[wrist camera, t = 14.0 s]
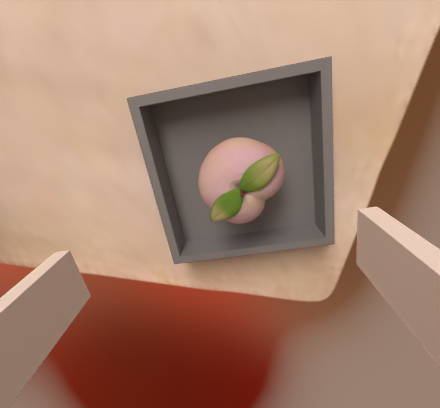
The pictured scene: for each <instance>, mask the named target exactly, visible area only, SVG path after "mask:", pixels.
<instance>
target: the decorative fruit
mask: <svg viewBox="0 0 440 408" xmlns="http://www.w3.org/2000/svg"><path fill="white" fill-rule="evenodd" d="M284 177H285V169H284V165H283V162H282V160H281V158H280V153H277V152H276V151H275V150H274V149H273V148H271V147H270V146H268V145H267V144H265V143H262V142H260V141H257V140H254V139H250V138H244V137H237V138H230V139H227V140H225V141H223V142H221V143H219V144H218V145H217V146H215V147H214V148H213V149H212V150H211V151H210V152H209V153H208V155H207V156H206V158H205V159H204V161H203V163H202V165H201V168H200V172H199V179H198V186H199V192H200V195H201V197H202V199H203V201H204V202H205V204H206V205H207V206H208V207H209V208H210V209H211V211H210V221H215V222H219V221H224V220H225V221H228V222H231V223H236V224H242V223H247V222H250V221H252V220H254V219H255V218H257V217H258V216H259V215H260V213H261V212H262V210H263V208H264V205H265V200H266V199H268V198H270V197H272V196H273V195H274V194H275V193H276V192H277V191H278V190H279V189H280V188H281V186H282V184H283V181H284Z"/></svg>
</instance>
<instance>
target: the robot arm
mask: <svg viewBox="0 0 440 408" xmlns="http://www.w3.org/2000/svg"><path fill="white" fill-rule="evenodd" d="M356 264H357V265H358V266H359V267H360V269H361V270H362V271H363V273H364V274H365V275H366V276H367V277H368V279H369V280H370V281H371V282H372V284H373V285H374V286H375V287H376V289H377V290H378V291H379V292H380V294H381V295H382V296H383V297H384V299H385V300H386V301H387V302H388V304H389V305H390V306H391V307H392V309H393V310H394V311H395V312H396V313H397V314H398V316H399V317H400V319H401V320H402V321H403V322H404V323H405V325H406V326H407V327H408V329H409V330H410V331H411V332H412V333H413V335H414V336H415V337H416V338H417V340H418V341H419V342H420V343H421V344H422V346H423V347H424V348H425V350H426V351H427V352H428V353H429V355H430V356H431V357H432V358H433V360H434V361H435V362H436V363H437V365H438V366H439V367H440V249H438V248H437V247H435V246H434V245H432V244H431V243H429V242H428V241H426V240H425V239H423V238H422V237H420V236H419V235H418V234H416V233H415V232H413V231H412V230H410V229H409V228H407V227H406V226H405V225H403V224H402V223H400V222H399V221H397V220H396V219H394V218H393V217H391V216H390V215H388V214H387V213H386V212H384V211H383V210H381V209H380V208H378V207H370V208H363V209H358V222H357V261H356ZM89 298H90V293H89V291H88V289H87V287H86V285H85V283H84V280H83V278H82V276H81V274H80V272H79V269H78V267H77V265H76V263H75V261H74V259H73V256H72V254H71V252H70V250H68V251H61V252H55V253H53V254H52V255H51V256H50V257H49V258H48V259H46V260H45V261H44V262H43V263H42V264H40V265H39V266H38V267H37V268H36V269H34V270H33V271H32V272H31V273H30V274H28V275H27V276H26V277H25V278H24V279H23V280H21V281H20V282H19V283H18V284H17V285H15V286H14V287H13V288H12V289H11V290H9V291H8V292H7V293H6V294H5V295H3V296H2V297H1V298H0V408H9V407H10V406H11V405H12V403H13V402H14V400H15V399H16V398H17V396H18V395H19V394H20V392H21V391H22V390H23V388H24V387H25V385H26V384H27V383H28V381H29V380H30V378H31V377H32V376H33V374H34V373H35V372H36V370H37V369H38V368H39V366H40V365H41V363H42V362H43V361H44V359H45V358H46V357H47V355H48V354H49V352H50V351H51V350H52V348H53V347H54V346H55V344H56V343H57V342H58V340H59V339H60V337H61V336H62V335H63V333H64V332H65V331H66V329H67V328H68V327H69V325H70V324H71V322H72V321H73V320H74V318H75V317H76V316H77V314H78V313H79V311H80V310H81V309H82V307H83V306H84V305H85V303H86V302H87V301H88V299H89Z"/></svg>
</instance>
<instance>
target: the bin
mask: <svg viewBox="0 0 440 408" xmlns="http://www.w3.org/2000/svg"><path fill="white" fill-rule="evenodd" d="M127 102H128V105H129V109H130V112H131V116H132V119H133V123H134V126H135V129H136V133H137V136H138V140H139V143H140V147H141V150H142V154H143V157H144V161H145V164H146V168H147V171H148V175H149V178H150V182H151V185H152V189H153V192H154V196H155V199H156V203H157V206H158V209H159V213H160V216H161V220H162V223H163V227H164V230H165V234H166V237H167V241H168V244H169V248H170V251H171V255H172V258H173V262H174V264H180V263H188V262H196V261H204V260H212V259H220V258H228V257H236V256H244V255H252V254H260V253H268V252H276V251H284V250H292V249H300V248H308V247H316V246H324V245H332V244H335V241H334V177H333V113H332V56H331V57H326V58H321V59H316V60H311V61H306V62H301V63H296V64H292V65H287V66H282V67H277V68H272V69H267V70H262V71H257V72H252V73H247V74H243V75H238V76H233V77H228V78H223V79H218V80H213V81H208V82H203V83H199V84H194V85H189V86H184V87H179V88H174V89H169V90H164V91H159V92H154V93H150V94H145V95H140V96H135V97H130V98H127ZM237 137H244V138H250V139H254V140H257V141H260V142H262V143H265V144H267V145H268V146H270V147H271V148H273V149H274V150H275V151H276V152H277V153H280V158H281V160H282V162H283V165H284V169H285V177H284V181H283V184H282V186H281V188H280V189H279V190H278V191H277V192H276V193H275V194H274V195H273V196H272V197H270V198H268V199H266V200H265V205H264V208H263V210H262V212H261V213H260V215H259V216H258V217H257V218H255V219H254V220H252V221H250V222H247V223H242V224H236V223H231V222H228V221H225V220H224V221H219V222H215V221H210V211H211V209H210V208H209V207H208V206H207V205H206V204H205V202H204V201H203V199H202V197H201V195H200V192H199V186H198V179H199V172H200V168H201V165H202V163H203V161H204V159H205V158H206V156H207V155H208V153H209V152H210V151H211V150H212V149H213V148H214V147H215V146H217V145H218V144H219V143H221V142H223V141H225V140H227V139H230V138H237Z"/></svg>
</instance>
